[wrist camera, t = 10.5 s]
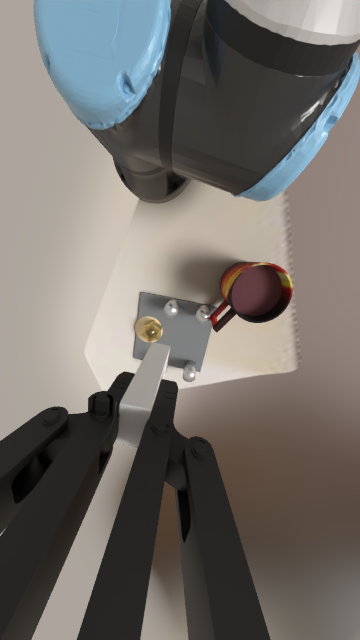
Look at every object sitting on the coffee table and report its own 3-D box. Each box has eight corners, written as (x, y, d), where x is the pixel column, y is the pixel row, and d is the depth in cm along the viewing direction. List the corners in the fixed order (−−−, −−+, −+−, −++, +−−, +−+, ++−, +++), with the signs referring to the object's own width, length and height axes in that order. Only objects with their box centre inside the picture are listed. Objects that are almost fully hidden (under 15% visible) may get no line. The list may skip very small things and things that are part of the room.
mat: (139, 291, 44) (138, 291, 44) (216, 307, 43) (216, 307, 43) (132, 356, 50) (131, 357, 50) (199, 371, 50) (199, 372, 49)
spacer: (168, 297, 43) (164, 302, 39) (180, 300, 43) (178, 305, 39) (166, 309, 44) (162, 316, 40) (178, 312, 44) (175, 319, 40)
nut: (145, 317, 46) (142, 321, 43) (163, 321, 45) (161, 325, 43) (143, 336, 47) (140, 340, 45) (160, 339, 47) (158, 344, 45)
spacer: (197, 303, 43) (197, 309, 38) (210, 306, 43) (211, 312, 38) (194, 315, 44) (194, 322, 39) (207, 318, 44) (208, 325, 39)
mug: (208, 316, 44) (213, 336, 32) (228, 256, 39) (242, 254, 28) (247, 327, 44) (266, 351, 33) (272, 269, 40) (303, 272, 28)
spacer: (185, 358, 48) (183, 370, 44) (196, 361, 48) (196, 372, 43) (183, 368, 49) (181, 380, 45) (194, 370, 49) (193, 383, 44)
